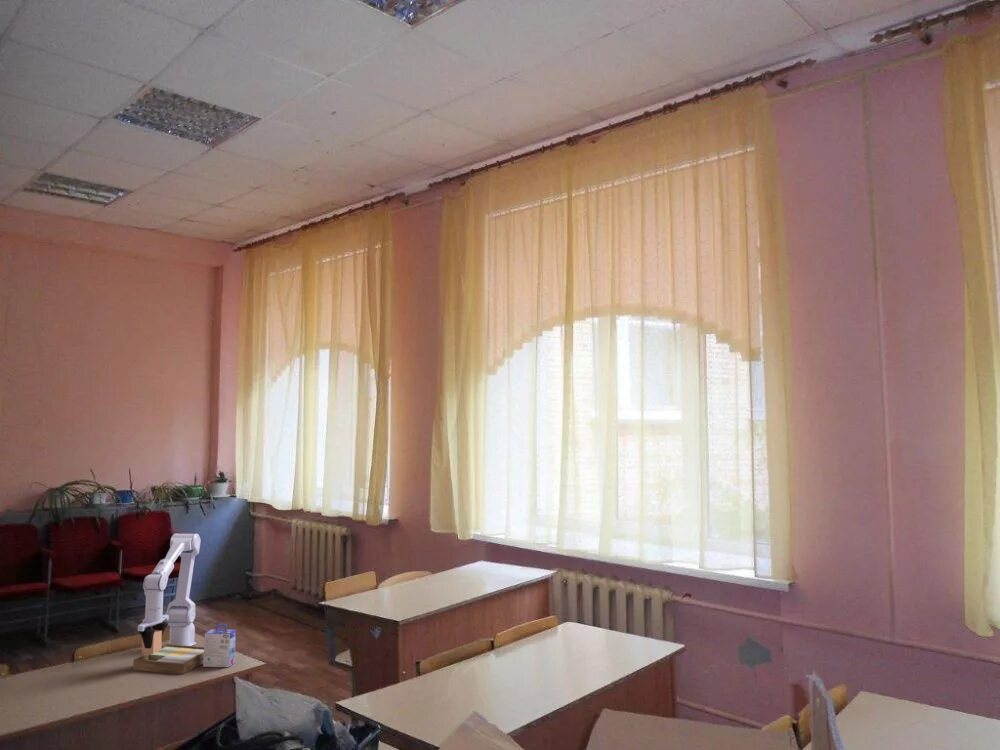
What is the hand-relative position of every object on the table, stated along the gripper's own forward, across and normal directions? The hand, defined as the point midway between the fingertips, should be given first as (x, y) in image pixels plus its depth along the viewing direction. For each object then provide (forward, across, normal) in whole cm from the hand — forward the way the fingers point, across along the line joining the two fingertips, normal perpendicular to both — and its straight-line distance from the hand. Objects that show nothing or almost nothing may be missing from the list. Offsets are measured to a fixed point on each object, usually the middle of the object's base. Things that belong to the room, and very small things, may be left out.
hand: (152, 645), depth 255 cm
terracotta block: (+2, 0, 0) cm, 2 cm away
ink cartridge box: (+8, -7, +23) cm, 25 cm away
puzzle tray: (+7, -5, +6) cm, 10 cm away
